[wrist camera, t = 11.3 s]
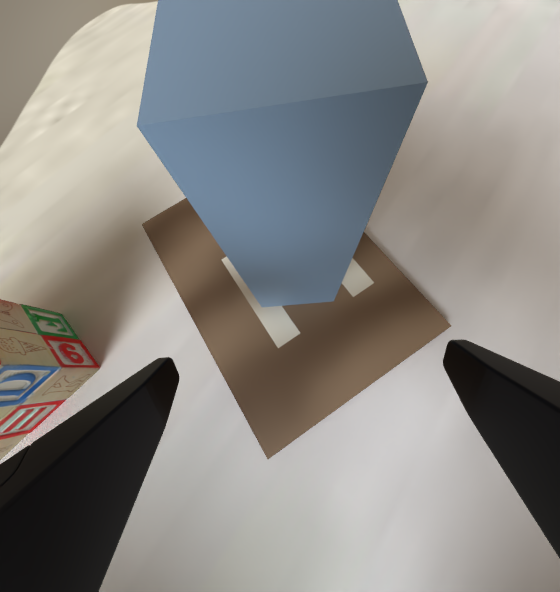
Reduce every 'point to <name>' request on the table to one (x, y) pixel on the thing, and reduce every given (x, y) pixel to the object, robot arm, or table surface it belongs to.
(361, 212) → the blue pillar
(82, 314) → the table surface
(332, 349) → the letter board
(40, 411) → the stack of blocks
